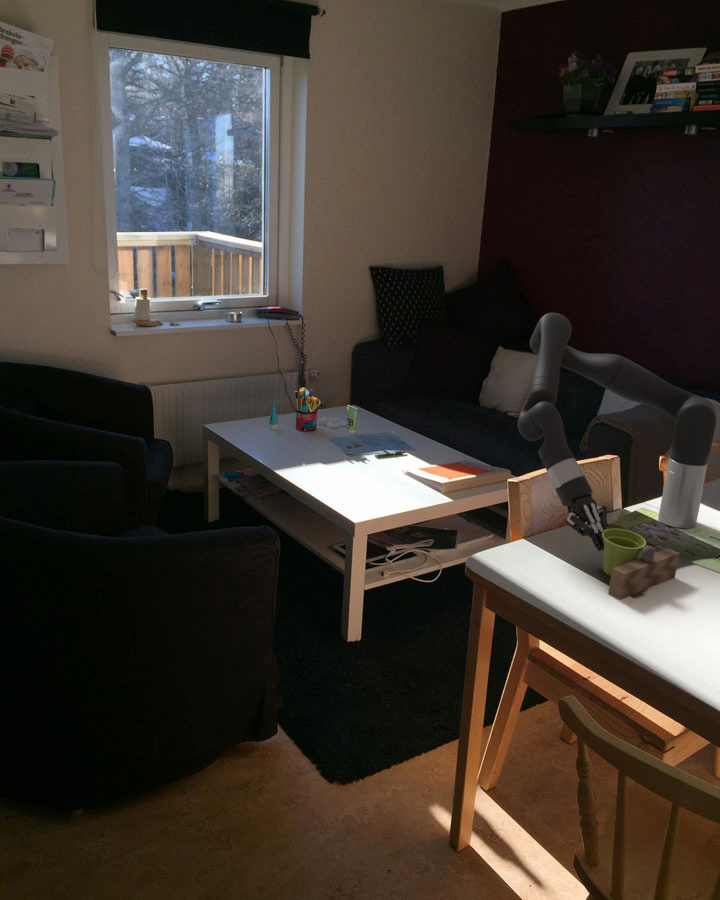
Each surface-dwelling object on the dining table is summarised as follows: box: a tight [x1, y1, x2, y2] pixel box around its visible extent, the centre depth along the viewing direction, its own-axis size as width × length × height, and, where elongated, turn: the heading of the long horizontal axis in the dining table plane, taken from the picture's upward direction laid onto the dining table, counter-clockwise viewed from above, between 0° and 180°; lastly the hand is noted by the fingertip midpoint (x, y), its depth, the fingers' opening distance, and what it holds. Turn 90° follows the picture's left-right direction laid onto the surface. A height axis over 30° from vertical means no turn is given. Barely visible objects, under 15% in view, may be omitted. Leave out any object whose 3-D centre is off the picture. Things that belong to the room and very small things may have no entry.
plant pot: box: [602, 528, 647, 577], centre depth 179 cm, size 9×9×9 cm
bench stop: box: [607, 545, 680, 600], centre depth 174 cm, size 20×3×9 cm, turn 126°
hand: (603, 549), depth 182 cm, fingers closed
